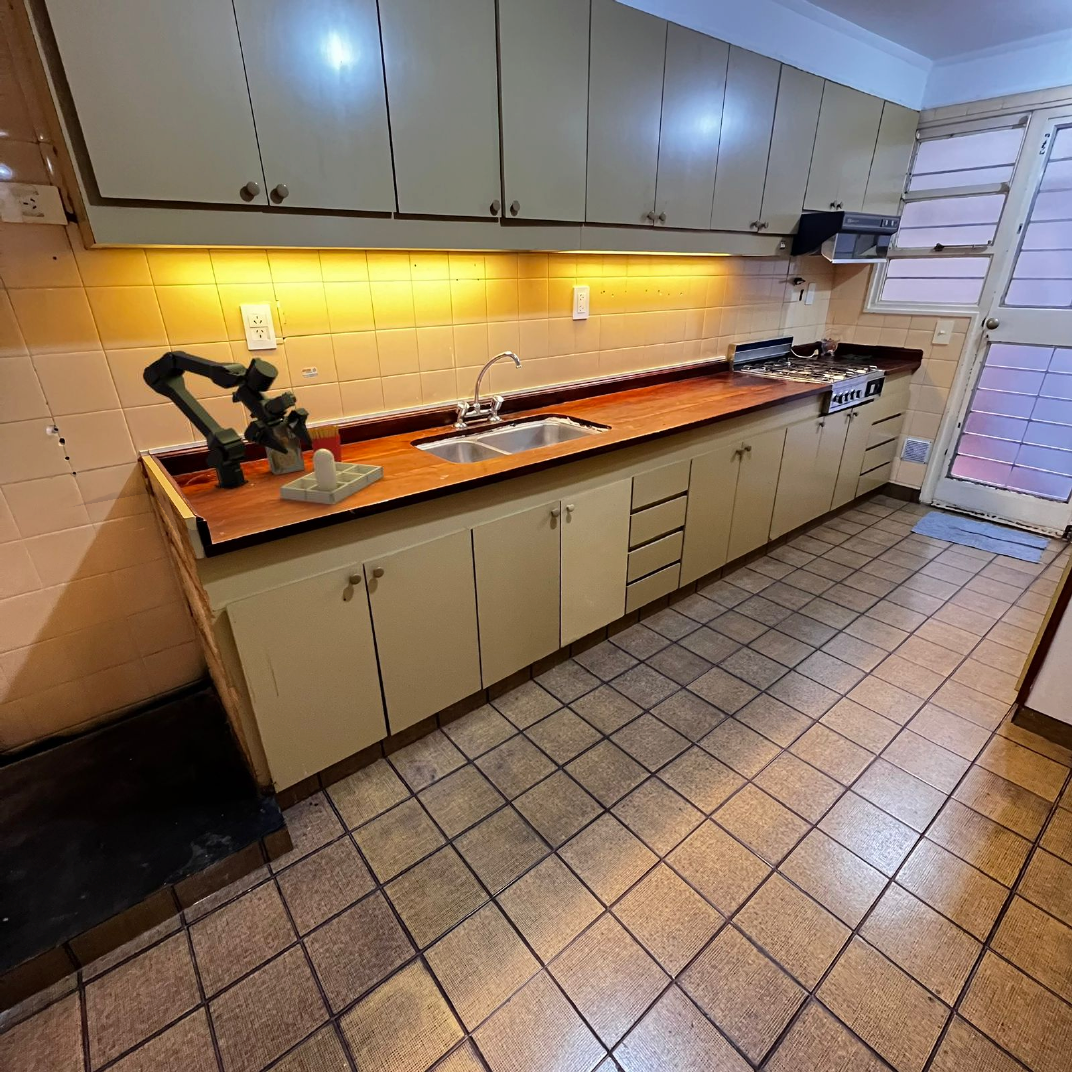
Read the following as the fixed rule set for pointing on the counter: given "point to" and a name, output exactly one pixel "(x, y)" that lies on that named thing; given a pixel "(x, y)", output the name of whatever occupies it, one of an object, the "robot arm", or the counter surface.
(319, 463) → the white rounded cylinder
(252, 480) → the counter surface
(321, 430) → the french fries
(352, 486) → the divided tray
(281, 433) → the coffee box
